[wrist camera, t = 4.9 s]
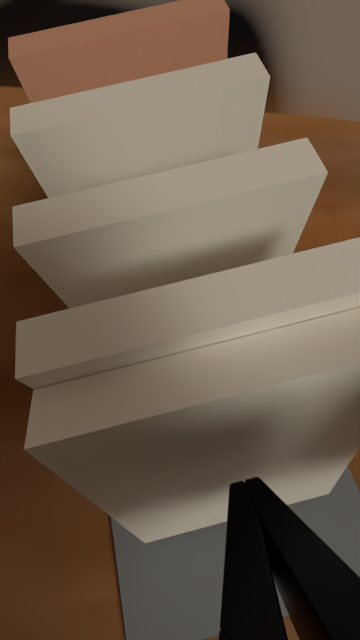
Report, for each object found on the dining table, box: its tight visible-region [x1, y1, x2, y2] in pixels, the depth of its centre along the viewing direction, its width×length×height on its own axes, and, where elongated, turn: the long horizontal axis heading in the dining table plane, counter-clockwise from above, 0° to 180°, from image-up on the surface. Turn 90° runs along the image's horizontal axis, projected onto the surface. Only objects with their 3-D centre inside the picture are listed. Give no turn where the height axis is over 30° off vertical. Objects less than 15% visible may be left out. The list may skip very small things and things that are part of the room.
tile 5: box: [8, 0, 230, 103], centre depth 19 cm, size 2×10×12 cm, turn 104°
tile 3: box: [12, 138, 328, 309], centre depth 15 cm, size 2×10×12 cm, turn 103°
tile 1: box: [24, 308, 360, 543], centre depth 12 cm, size 2×10×12 cm, turn 104°
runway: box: [111, 465, 360, 640], centre depth 21 cm, size 32×13×1 cm, turn 14°
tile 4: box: [10, 53, 270, 198], centre depth 17 cm, size 2×10×12 cm, turn 103°
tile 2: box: [15, 237, 360, 390], centre depth 13 cm, size 2×10×12 cm, turn 103°
